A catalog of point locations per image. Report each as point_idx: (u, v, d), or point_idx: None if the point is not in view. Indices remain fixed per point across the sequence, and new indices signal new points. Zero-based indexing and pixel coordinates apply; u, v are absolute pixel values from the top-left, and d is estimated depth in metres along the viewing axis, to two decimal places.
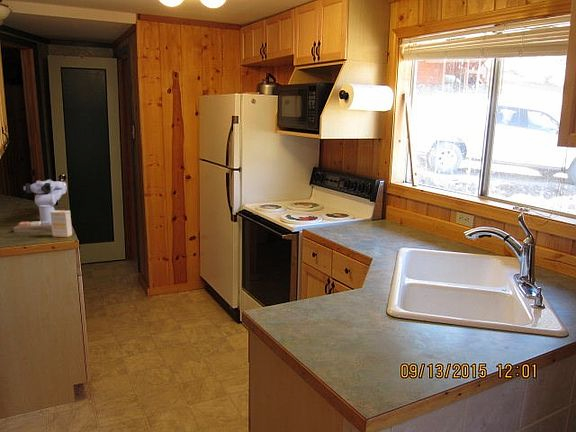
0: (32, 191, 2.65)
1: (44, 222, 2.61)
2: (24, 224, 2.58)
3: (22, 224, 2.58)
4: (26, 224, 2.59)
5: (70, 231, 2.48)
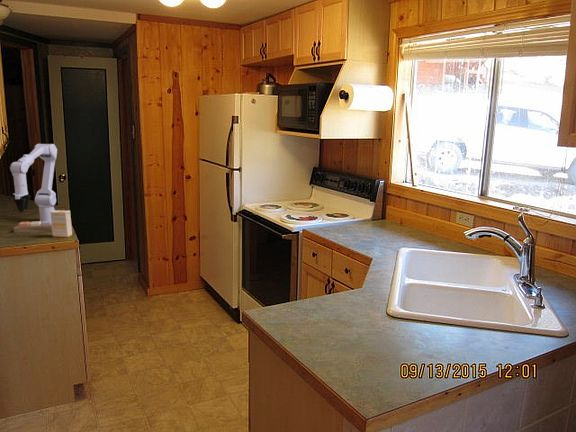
0: None
1: (44, 222, 2.61)
2: (24, 224, 2.58)
3: (22, 224, 2.58)
4: (26, 224, 2.59)
5: (70, 231, 2.48)
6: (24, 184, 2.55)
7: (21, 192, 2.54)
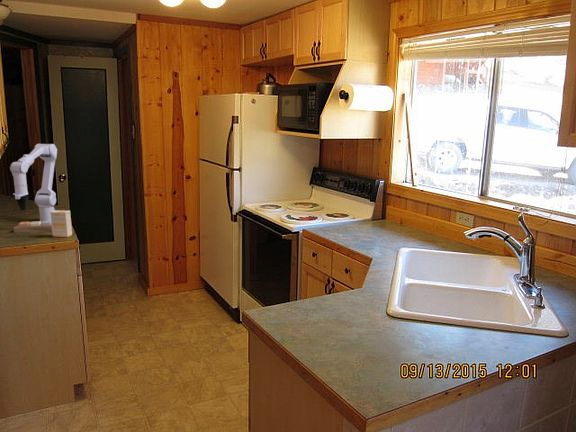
0: None
1: (44, 222, 2.61)
2: (24, 224, 2.58)
3: (22, 224, 2.58)
4: (26, 224, 2.59)
5: (70, 231, 2.48)
6: (24, 184, 2.55)
7: (21, 192, 2.54)
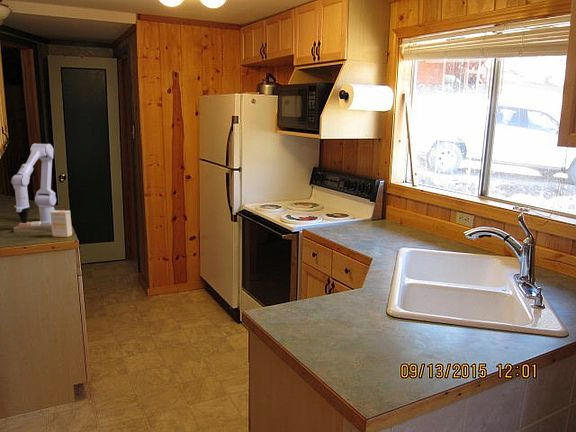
0: None
1: (44, 222, 2.61)
2: (24, 224, 2.58)
3: (22, 224, 2.58)
4: (26, 224, 2.59)
5: (70, 231, 2.48)
6: (25, 197, 2.56)
7: (22, 205, 2.56)
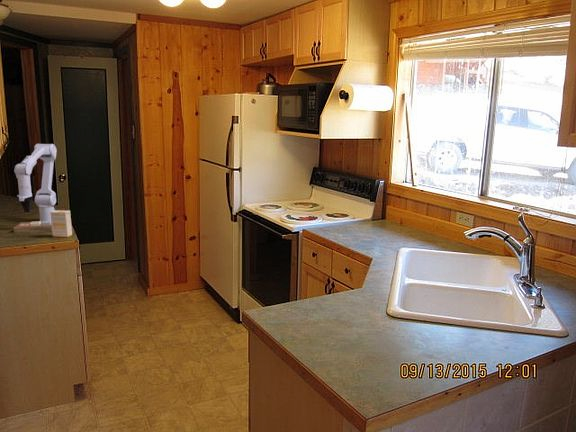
0: None
1: (44, 222, 2.61)
2: None
3: None
4: None
5: (70, 231, 2.48)
6: (28, 186, 2.56)
7: (25, 194, 2.55)
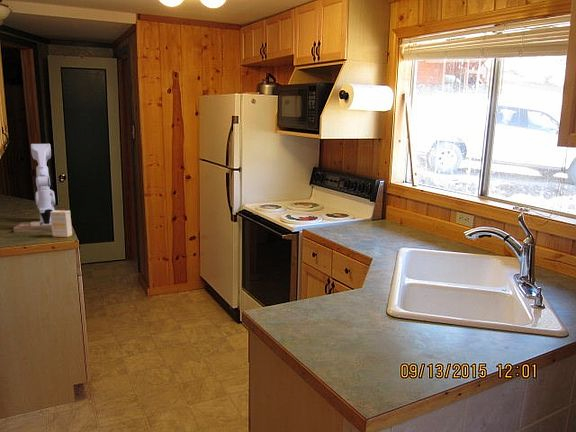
0: None
1: (44, 224, 2.61)
2: None
3: None
4: None
5: (70, 231, 2.48)
6: (50, 197, 2.60)
7: (45, 206, 2.58)
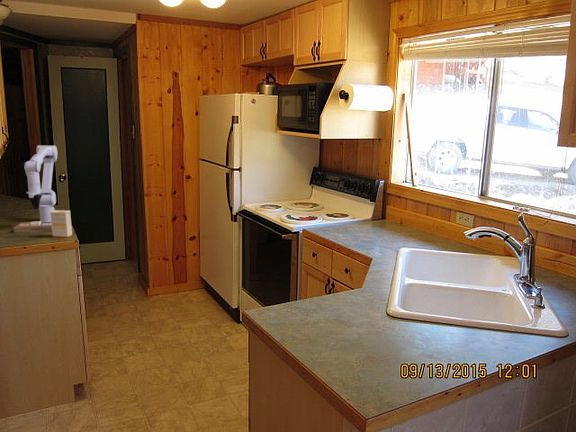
0: None
1: (44, 224, 2.62)
2: None
3: None
4: None
5: (70, 231, 2.48)
6: (38, 183, 2.60)
7: (34, 191, 2.58)
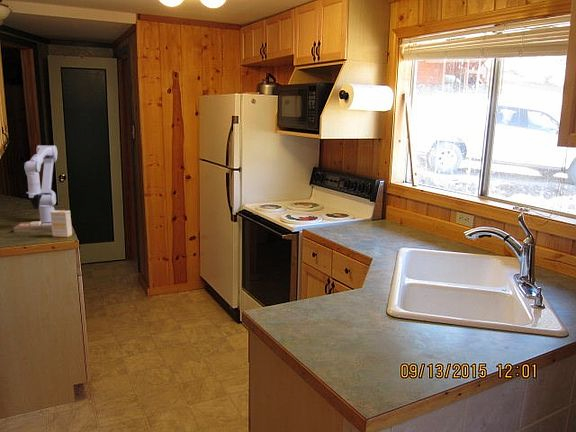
0: None
1: (44, 224, 2.62)
2: None
3: None
4: None
5: (70, 231, 2.48)
6: (38, 183, 2.60)
7: (34, 191, 2.58)
